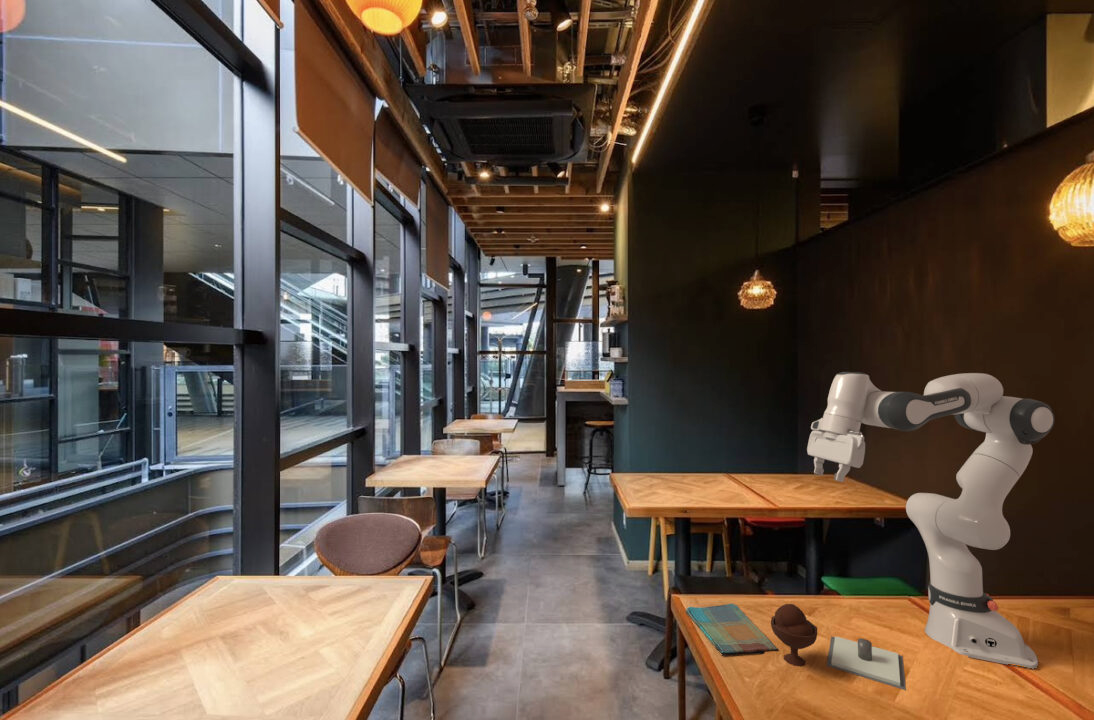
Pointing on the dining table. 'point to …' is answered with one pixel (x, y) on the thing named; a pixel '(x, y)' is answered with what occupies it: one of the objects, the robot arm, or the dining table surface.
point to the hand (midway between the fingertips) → (827, 477)
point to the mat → (901, 672)
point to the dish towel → (730, 630)
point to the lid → (866, 659)
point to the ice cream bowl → (793, 631)
